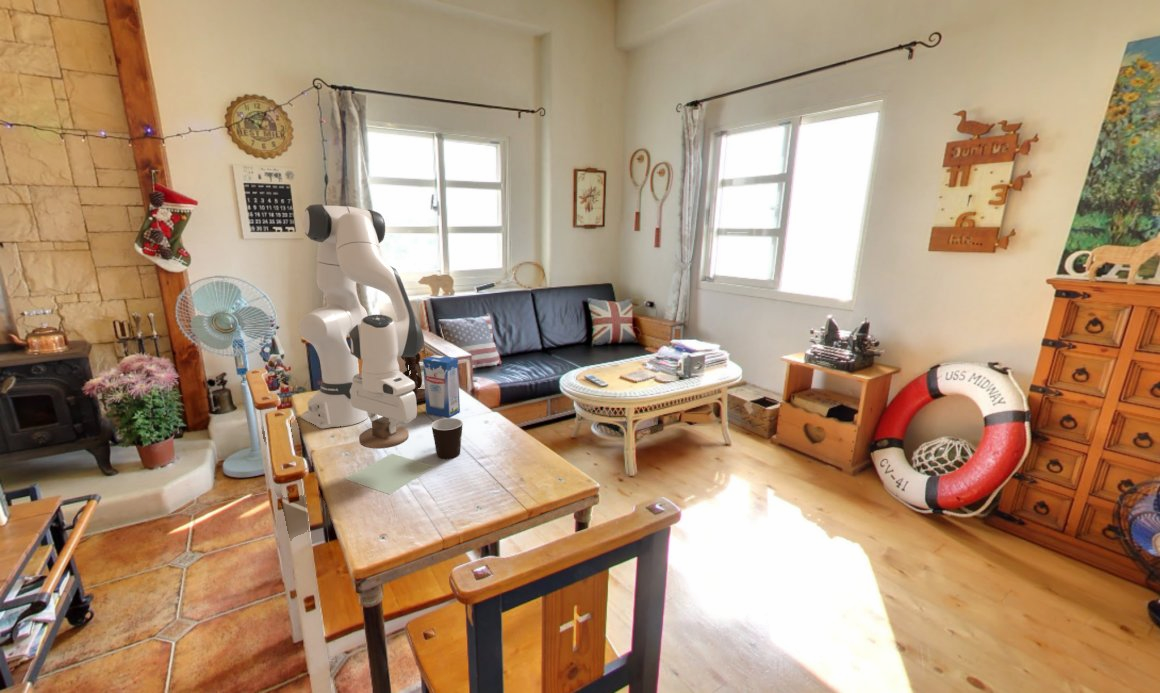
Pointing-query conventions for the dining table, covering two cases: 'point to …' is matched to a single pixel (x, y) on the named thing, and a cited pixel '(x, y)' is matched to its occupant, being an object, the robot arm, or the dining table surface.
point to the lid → (382, 435)
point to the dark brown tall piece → (415, 375)
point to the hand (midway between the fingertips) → (384, 429)
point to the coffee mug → (447, 437)
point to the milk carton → (441, 386)
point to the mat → (389, 473)
